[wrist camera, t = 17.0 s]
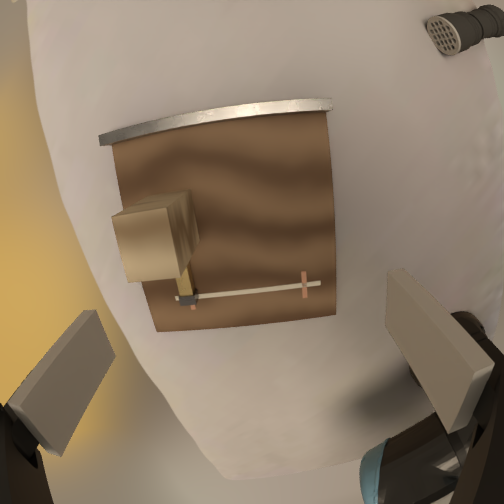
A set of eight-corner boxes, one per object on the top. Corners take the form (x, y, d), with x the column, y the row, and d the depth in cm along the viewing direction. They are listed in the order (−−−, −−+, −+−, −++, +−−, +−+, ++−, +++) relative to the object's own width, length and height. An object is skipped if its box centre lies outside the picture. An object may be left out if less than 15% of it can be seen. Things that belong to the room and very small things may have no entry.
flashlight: (480, 7, 22) (500, -1, 17) (497, 37, 24) (519, 32, 19) (420, 23, 25) (442, 11, 20) (442, 58, 27) (465, 51, 22)
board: (334, 311, 39) (341, 327, 35) (158, 328, 40) (151, 345, 36) (322, 102, 30) (331, 98, 26) (113, 135, 31) (98, 135, 27)
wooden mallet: (210, 296, 37) (198, 345, 27) (172, 299, 37) (149, 348, 28) (190, 188, 32) (166, 207, 23) (148, 195, 33) (111, 217, 23)
